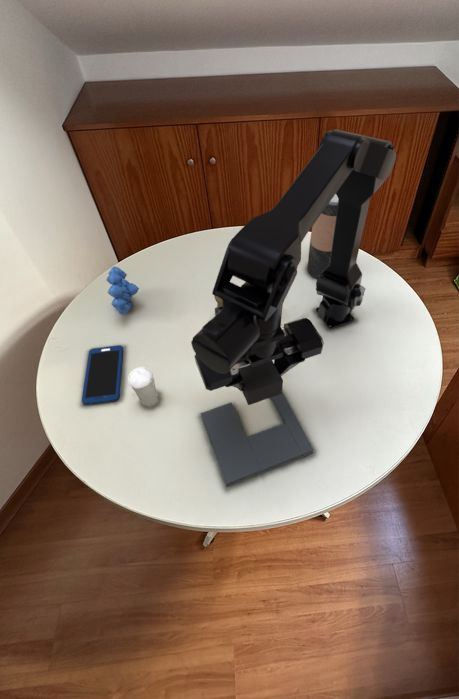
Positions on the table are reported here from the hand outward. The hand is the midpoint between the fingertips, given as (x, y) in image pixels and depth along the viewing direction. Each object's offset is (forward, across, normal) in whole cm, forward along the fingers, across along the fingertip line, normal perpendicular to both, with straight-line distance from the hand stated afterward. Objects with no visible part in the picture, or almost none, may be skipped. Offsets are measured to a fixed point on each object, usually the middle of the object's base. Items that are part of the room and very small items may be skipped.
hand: (258, 382), depth 62 cm
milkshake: (+10, +18, -10) cm, 23 cm away
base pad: (+10, +2, +4) cm, 11 cm away
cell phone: (+10, +26, -20) cm, 35 cm away
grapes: (+10, +17, -37) cm, 42 cm away
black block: (+1, 0, 0) cm, 1 cm away
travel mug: (+10, -31, -31) cm, 45 cm away
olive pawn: (+10, -3, -23) cm, 25 cm away
